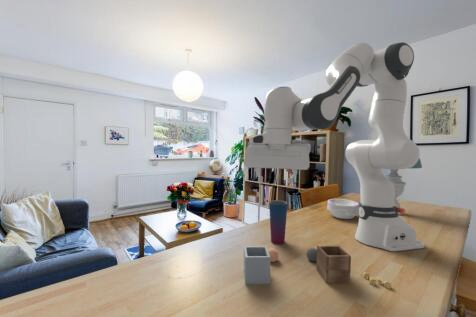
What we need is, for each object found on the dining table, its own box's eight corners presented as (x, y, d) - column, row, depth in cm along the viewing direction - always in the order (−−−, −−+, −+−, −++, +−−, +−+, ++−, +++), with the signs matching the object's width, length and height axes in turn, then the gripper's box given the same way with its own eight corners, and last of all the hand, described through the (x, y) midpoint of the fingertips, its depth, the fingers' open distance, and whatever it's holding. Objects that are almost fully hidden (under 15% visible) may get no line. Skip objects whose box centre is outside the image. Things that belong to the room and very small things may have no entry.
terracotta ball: (277, 258, 72) (277, 246, 72) (279, 264, 68) (279, 251, 68) (264, 258, 72) (264, 246, 72) (266, 264, 68) (266, 251, 68)
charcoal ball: (316, 257, 72) (317, 245, 72) (321, 264, 68) (322, 251, 68) (304, 257, 72) (304, 245, 72) (309, 264, 68) (309, 251, 68)
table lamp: (423, 222, 109) (426, 139, 107) (366, 214, 122) (368, 140, 120) (416, 211, 129) (419, 141, 127) (369, 205, 142) (371, 142, 140)
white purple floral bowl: (365, 221, 110) (365, 205, 109) (334, 221, 110) (334, 205, 109) (350, 212, 125) (350, 198, 124) (322, 212, 125) (323, 198, 125)
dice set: (391, 292, 56) (392, 284, 56) (369, 290, 57) (369, 282, 57) (382, 280, 61) (382, 273, 61) (362, 278, 62) (362, 271, 62)
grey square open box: (266, 271, 64) (266, 246, 64) (270, 285, 57) (270, 257, 57) (243, 272, 64) (243, 246, 63) (245, 285, 57) (245, 257, 57)
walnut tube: (338, 270, 65) (338, 245, 64) (350, 284, 58) (350, 256, 58) (316, 271, 64) (316, 245, 64) (325, 284, 58) (326, 256, 58)
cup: (287, 246, 81) (287, 205, 80) (268, 244, 82) (268, 204, 82) (286, 238, 88) (287, 200, 87) (269, 237, 89) (269, 199, 88)
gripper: (308, 140, 73) (306, 183, 73) (246, 138, 75) (244, 179, 75) (313, 139, 66) (310, 185, 67) (244, 137, 69) (242, 182, 69)
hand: (275, 182), depth 71 cm, fingers open, 8 cm apart
